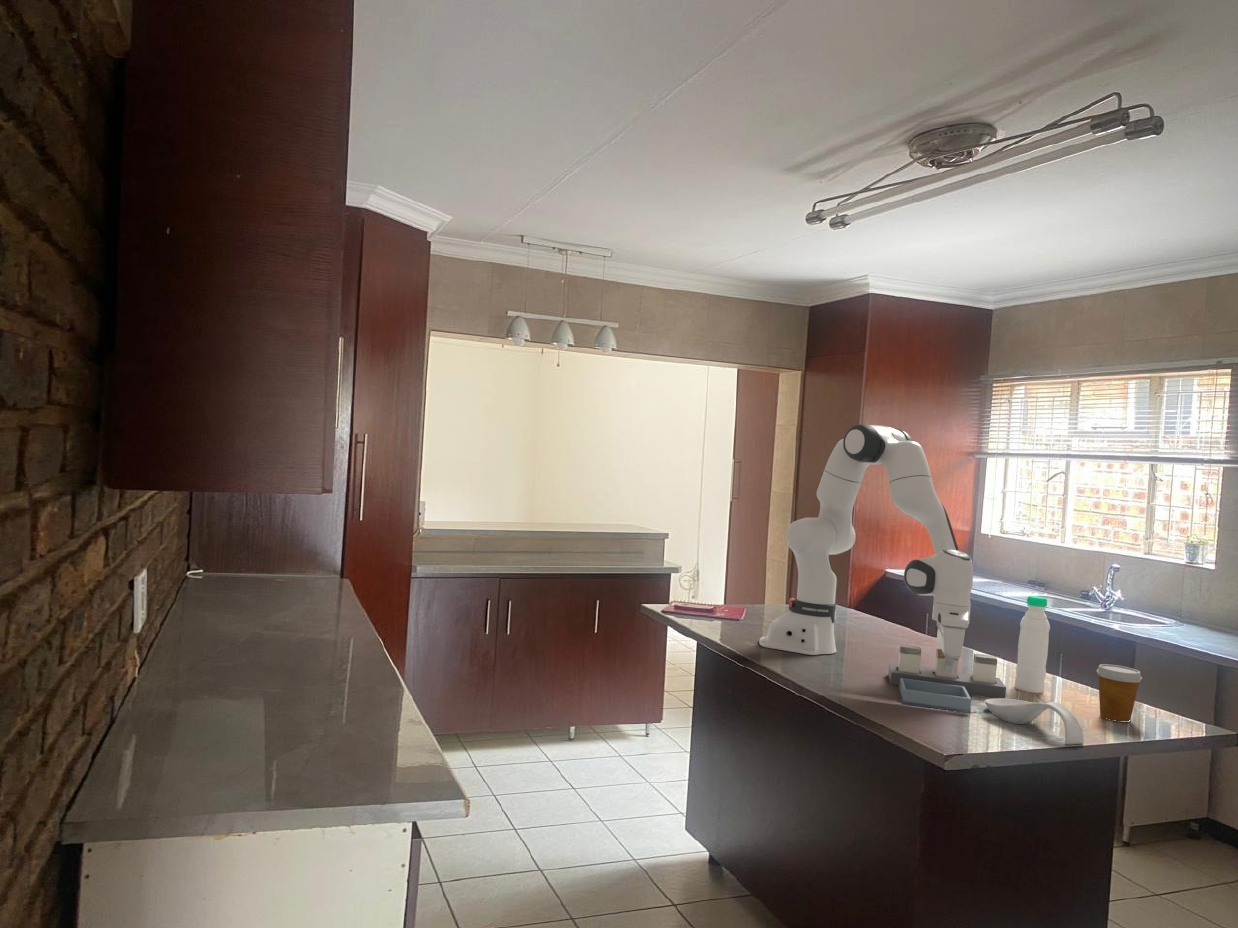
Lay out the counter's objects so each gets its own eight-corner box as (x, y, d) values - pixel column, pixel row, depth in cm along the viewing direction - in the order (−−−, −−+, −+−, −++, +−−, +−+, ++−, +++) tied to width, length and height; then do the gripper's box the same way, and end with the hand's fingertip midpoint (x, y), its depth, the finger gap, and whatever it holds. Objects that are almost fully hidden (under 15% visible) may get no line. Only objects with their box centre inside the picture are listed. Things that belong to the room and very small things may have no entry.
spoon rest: (972, 712, 210) (975, 682, 210) (1011, 711, 214) (1013, 681, 214) (1056, 747, 188) (1059, 713, 188) (1097, 744, 192) (1100, 711, 192)
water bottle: (1045, 698, 229) (1054, 600, 228) (1015, 693, 231) (1023, 596, 231) (1042, 691, 236) (1051, 596, 235) (1013, 687, 238) (1021, 593, 238)
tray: (902, 704, 211) (903, 689, 211) (898, 691, 223) (900, 677, 223) (969, 713, 208) (971, 698, 208) (963, 700, 219) (964, 686, 219)
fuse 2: (972, 692, 225) (976, 656, 225) (970, 688, 228) (973, 653, 228) (994, 695, 224) (997, 659, 223) (991, 691, 227) (995, 656, 227)
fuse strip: (889, 687, 226) (891, 672, 226) (887, 678, 236) (889, 663, 236) (1004, 703, 220) (1006, 687, 220) (997, 693, 230) (999, 677, 230)
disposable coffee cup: (1147, 724, 211) (1152, 674, 211) (1115, 725, 208) (1119, 673, 208) (1114, 712, 220) (1119, 663, 220) (1083, 712, 217) (1087, 663, 217)
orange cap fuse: (934, 687, 227) (938, 651, 227) (933, 683, 230) (936, 648, 230) (955, 689, 226) (959, 654, 226) (954, 686, 229) (957, 651, 229)
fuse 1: (897, 681, 229) (900, 646, 229) (896, 678, 232) (899, 644, 232) (918, 684, 228) (921, 649, 228) (917, 681, 231) (920, 646, 231)
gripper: (933, 606, 239) (929, 658, 239) (942, 619, 219) (937, 675, 219) (958, 609, 237) (954, 661, 237) (969, 622, 217) (964, 679, 217)
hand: (946, 668), depth 228 cm, fingers open, 6 cm apart
